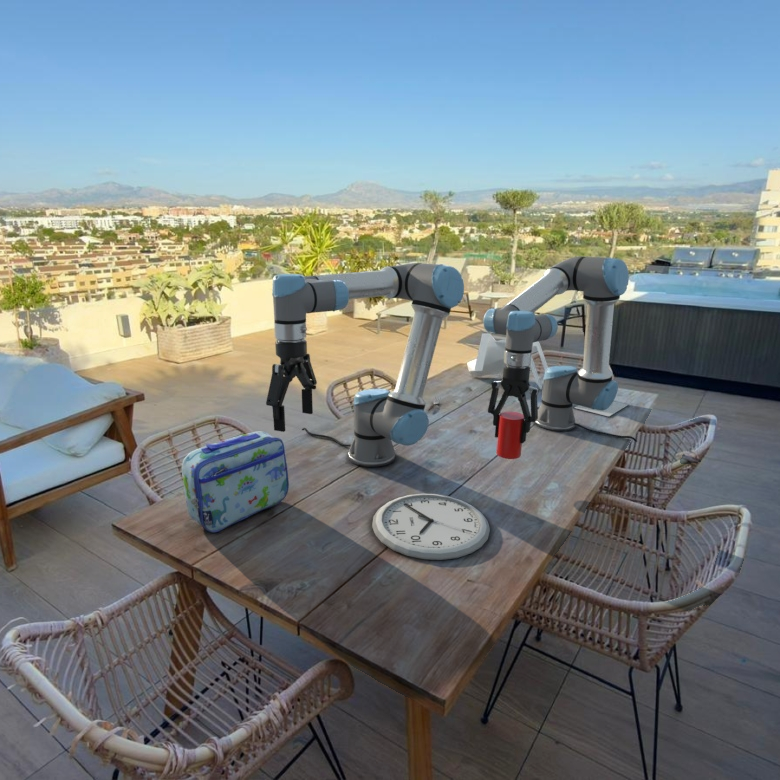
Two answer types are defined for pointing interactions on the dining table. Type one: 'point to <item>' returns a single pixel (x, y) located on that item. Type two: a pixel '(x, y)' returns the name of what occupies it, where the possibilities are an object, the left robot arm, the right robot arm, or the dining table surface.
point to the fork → (434, 403)
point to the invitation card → (608, 412)
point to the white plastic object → (498, 358)
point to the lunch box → (234, 479)
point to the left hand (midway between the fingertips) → (294, 421)
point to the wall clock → (431, 526)
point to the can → (509, 435)
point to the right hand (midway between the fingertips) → (510, 438)
